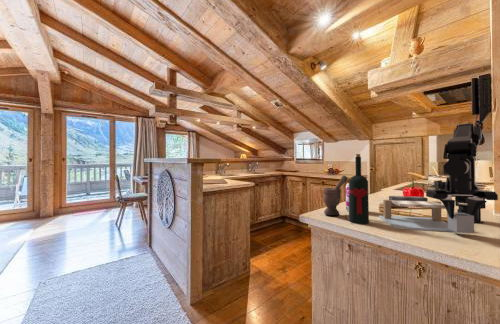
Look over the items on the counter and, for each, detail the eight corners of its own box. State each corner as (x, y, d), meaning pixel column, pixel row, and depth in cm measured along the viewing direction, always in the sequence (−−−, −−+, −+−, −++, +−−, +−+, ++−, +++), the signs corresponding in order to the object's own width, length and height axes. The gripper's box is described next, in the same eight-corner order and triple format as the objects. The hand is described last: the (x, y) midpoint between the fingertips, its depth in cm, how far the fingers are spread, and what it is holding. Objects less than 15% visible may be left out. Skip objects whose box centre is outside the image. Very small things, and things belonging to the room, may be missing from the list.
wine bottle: (349, 224, 93) (348, 153, 93) (348, 218, 102) (348, 154, 103) (370, 226, 90) (369, 153, 90) (367, 220, 99) (367, 154, 100)
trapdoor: (425, 204, 101) (425, 196, 101) (445, 211, 87) (445, 202, 87) (386, 203, 105) (386, 195, 105) (399, 209, 91) (399, 200, 91)
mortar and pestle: (346, 213, 114) (346, 174, 114) (348, 217, 106) (348, 175, 106) (323, 211, 118) (322, 174, 118) (323, 215, 109) (322, 175, 110)
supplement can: (355, 213, 113) (355, 184, 113) (342, 210, 120) (342, 183, 120) (366, 212, 116) (366, 183, 116) (353, 209, 123) (353, 182, 124)
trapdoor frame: (434, 219, 100) (434, 199, 100) (465, 232, 82) (464, 208, 82) (379, 217, 105) (378, 198, 105) (395, 228, 87) (395, 205, 87)
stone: (463, 229, 81) (463, 212, 81) (474, 233, 76) (474, 216, 76) (447, 228, 82) (447, 212, 82) (457, 232, 77) (456, 215, 77)
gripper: (473, 174, 85) (474, 214, 85) (418, 173, 89) (418, 212, 89) (499, 175, 74) (499, 222, 74) (434, 175, 78) (435, 219, 78)
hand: (460, 218), depth 79 cm, fingers closed on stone, 5 cm apart
